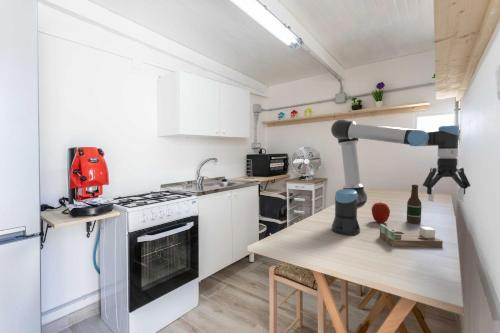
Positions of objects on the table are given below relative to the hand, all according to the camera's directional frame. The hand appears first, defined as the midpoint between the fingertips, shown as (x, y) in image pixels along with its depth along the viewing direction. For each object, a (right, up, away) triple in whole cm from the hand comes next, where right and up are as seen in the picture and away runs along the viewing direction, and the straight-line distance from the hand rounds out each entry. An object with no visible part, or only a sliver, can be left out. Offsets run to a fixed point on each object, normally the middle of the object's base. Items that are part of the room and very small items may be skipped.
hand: (445, 201), depth 119 cm
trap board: (-16, -21, +3) cm, 26 cm away
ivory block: (-7, -18, +3) cm, 19 cm away
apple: (-13, -19, +36) cm, 42 cm away
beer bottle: (+8, -19, +35) cm, 41 cm away
